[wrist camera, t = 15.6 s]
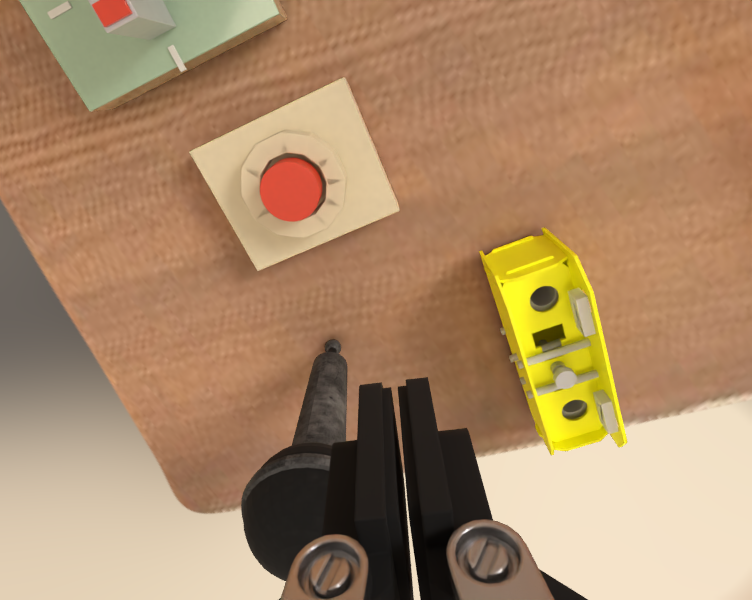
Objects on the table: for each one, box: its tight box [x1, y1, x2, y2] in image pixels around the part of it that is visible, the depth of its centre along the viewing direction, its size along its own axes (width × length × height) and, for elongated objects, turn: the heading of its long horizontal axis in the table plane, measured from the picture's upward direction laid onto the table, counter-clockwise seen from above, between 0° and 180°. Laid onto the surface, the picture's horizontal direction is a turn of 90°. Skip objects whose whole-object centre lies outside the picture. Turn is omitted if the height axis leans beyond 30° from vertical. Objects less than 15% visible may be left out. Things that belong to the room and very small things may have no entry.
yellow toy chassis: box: [479, 227, 627, 455], centre depth 35 cm, size 16×6×8 cm, turn 22°
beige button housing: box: [189, 77, 400, 271], centre depth 32 cm, size 11×9×4 cm
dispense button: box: [260, 158, 322, 222], centre depth 30 cm, size 4×4×2 cm
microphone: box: [241, 339, 347, 581], centre depth 31 cm, size 7×7×20 cm
